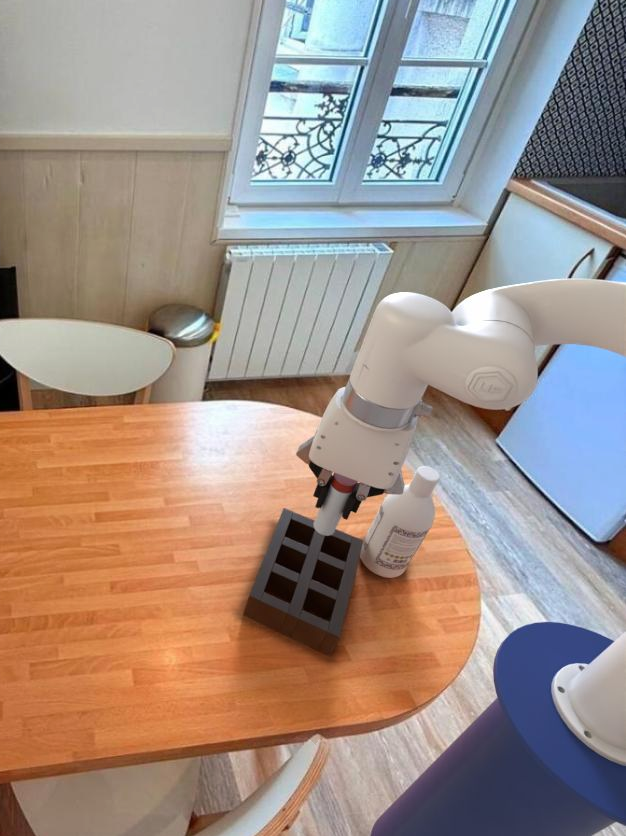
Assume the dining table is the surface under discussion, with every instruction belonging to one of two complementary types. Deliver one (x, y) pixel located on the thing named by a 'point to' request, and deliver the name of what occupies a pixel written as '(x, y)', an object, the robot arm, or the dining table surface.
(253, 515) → the dining table surface
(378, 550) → the bath foam
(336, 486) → the test tube
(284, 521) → the rack
